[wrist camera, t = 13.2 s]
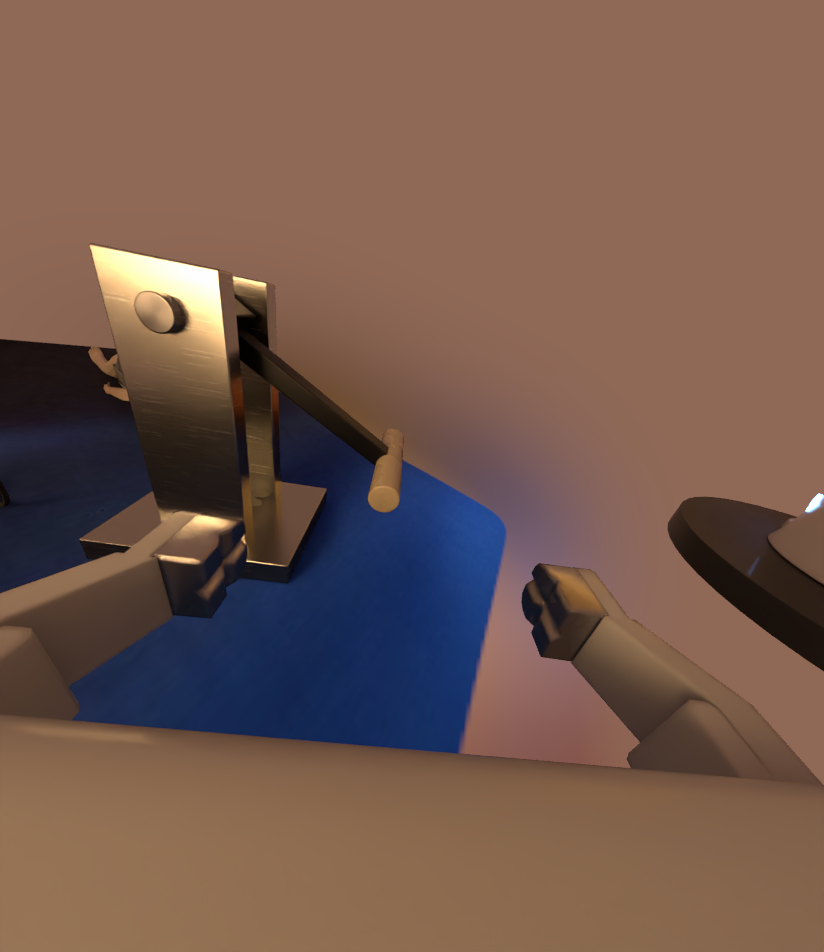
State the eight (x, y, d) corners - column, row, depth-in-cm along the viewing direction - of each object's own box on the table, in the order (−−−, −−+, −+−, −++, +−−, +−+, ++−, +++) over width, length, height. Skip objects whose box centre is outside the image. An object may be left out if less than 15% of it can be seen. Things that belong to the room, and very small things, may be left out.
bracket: (326, 502, 23) (337, 298, 17) (288, 584, 16) (282, 280, 10) (191, 482, 22) (148, 259, 16) (86, 559, 15) (-66, 208, 9)
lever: (390, 456, 21) (412, 432, 20) (379, 524, 14) (413, 492, 13) (215, 314, 17) (235, 278, 16) (75, 309, 10) (97, 243, 9)
